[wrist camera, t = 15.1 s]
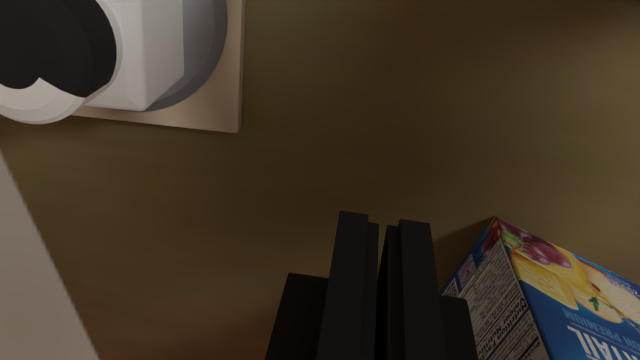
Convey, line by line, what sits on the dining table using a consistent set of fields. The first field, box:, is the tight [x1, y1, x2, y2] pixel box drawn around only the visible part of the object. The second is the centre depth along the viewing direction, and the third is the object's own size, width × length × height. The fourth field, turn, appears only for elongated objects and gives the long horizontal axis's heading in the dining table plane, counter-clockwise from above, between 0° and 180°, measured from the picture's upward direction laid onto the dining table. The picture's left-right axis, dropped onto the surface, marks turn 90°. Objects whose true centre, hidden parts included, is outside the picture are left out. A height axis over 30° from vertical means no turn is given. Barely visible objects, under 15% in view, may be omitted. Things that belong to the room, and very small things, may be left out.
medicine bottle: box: [0, 0, 184, 124], centre depth 29 cm, size 7×7×12 cm
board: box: [70, 0, 245, 133], centre depth 35 cm, size 14×14×2 cm
